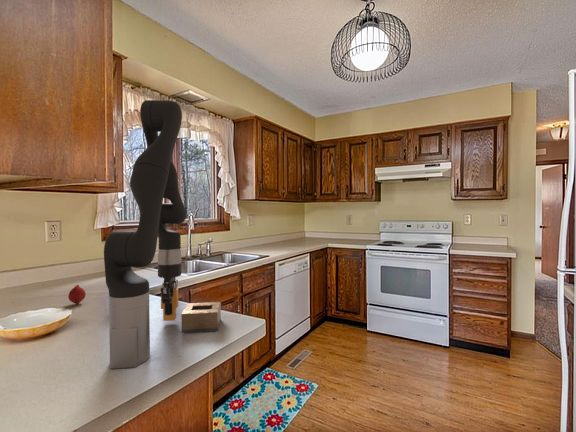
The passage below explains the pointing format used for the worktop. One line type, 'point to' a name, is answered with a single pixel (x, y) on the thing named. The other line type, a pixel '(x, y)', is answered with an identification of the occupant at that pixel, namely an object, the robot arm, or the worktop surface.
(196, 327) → the base
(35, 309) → the worktop surface
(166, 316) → the orange stepped block
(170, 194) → the robot arm
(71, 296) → the onion
